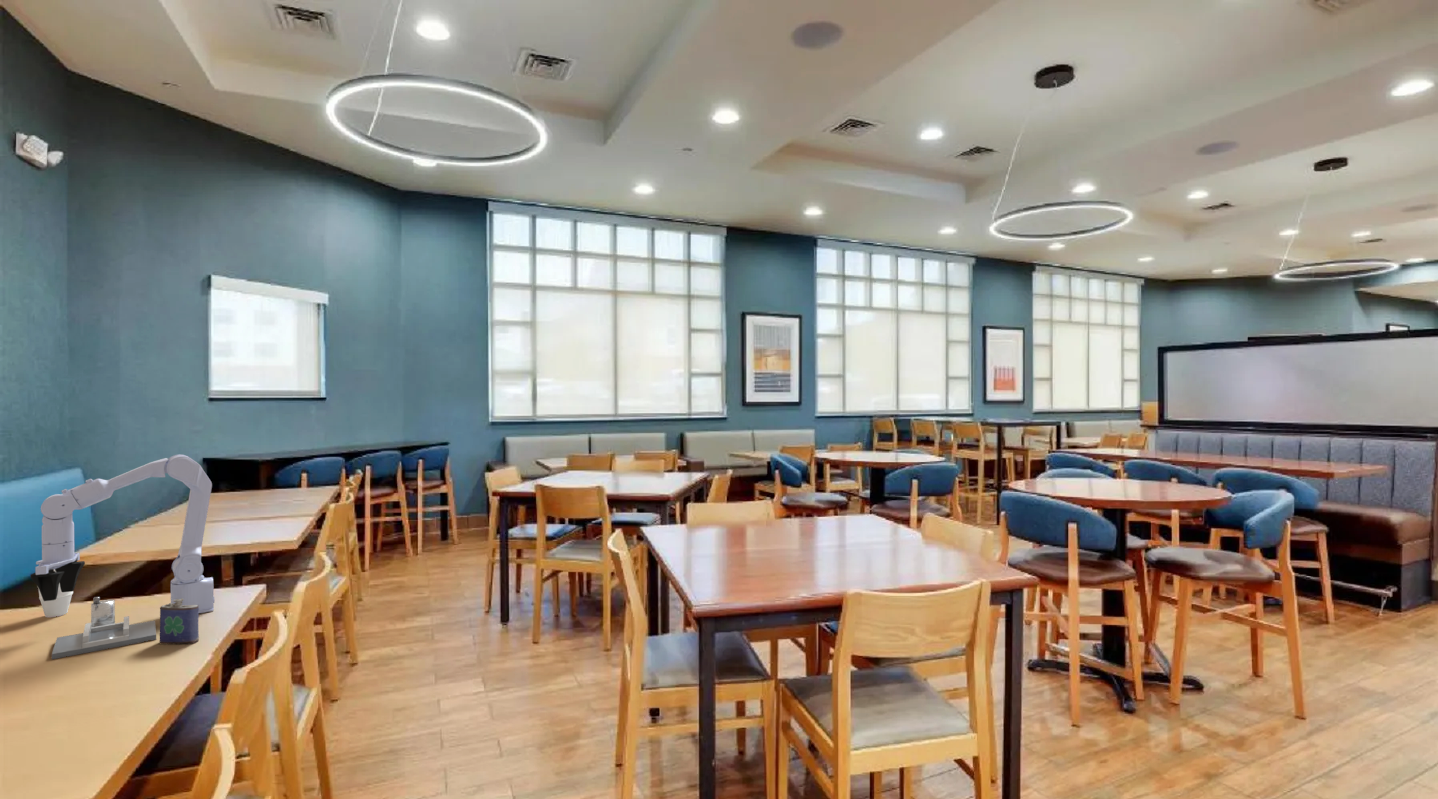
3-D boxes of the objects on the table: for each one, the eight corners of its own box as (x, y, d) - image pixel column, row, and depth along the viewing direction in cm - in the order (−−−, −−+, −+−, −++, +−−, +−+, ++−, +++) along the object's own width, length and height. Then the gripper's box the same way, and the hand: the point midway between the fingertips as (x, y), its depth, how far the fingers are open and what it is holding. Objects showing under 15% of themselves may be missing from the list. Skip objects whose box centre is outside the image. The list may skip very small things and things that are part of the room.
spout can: (115, 624, 169) (114, 592, 169) (114, 629, 166) (114, 596, 166) (91, 629, 166) (91, 596, 166) (90, 633, 163) (90, 600, 163)
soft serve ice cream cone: (54, 620, 173) (54, 561, 173) (24, 620, 173) (24, 561, 173) (86, 610, 181) (86, 553, 181) (57, 609, 181) (57, 553, 181)
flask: (201, 640, 158) (201, 597, 158) (191, 644, 155) (190, 601, 155) (165, 639, 158) (165, 596, 158) (154, 644, 156) (154, 600, 156)
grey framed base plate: (154, 624, 169) (154, 610, 169) (156, 639, 159) (156, 624, 159) (57, 642, 157) (57, 627, 157) (51, 659, 146) (51, 643, 146)
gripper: (54, 537, 167) (55, 589, 167) (18, 550, 153) (19, 606, 153) (89, 535, 169) (90, 586, 169) (57, 547, 156) (57, 602, 156)
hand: (59, 595), depth 162 cm, fingers open, 7 cm apart
